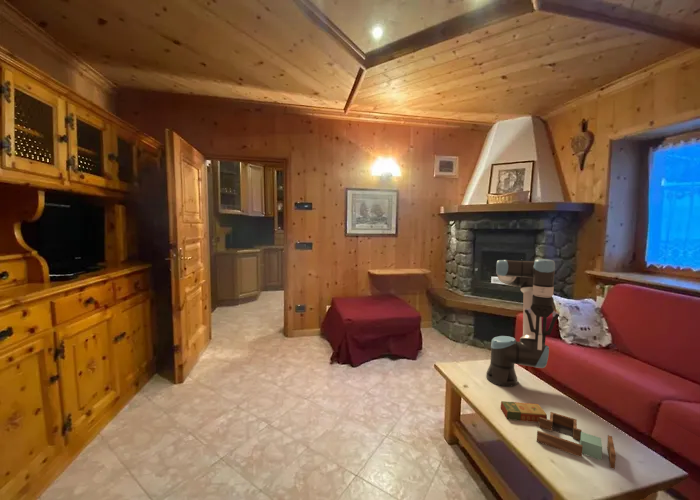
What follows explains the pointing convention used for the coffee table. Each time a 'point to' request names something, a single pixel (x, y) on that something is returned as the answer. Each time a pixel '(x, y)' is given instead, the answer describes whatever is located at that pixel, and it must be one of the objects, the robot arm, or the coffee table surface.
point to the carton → (522, 411)
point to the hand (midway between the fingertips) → (539, 348)
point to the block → (591, 445)
